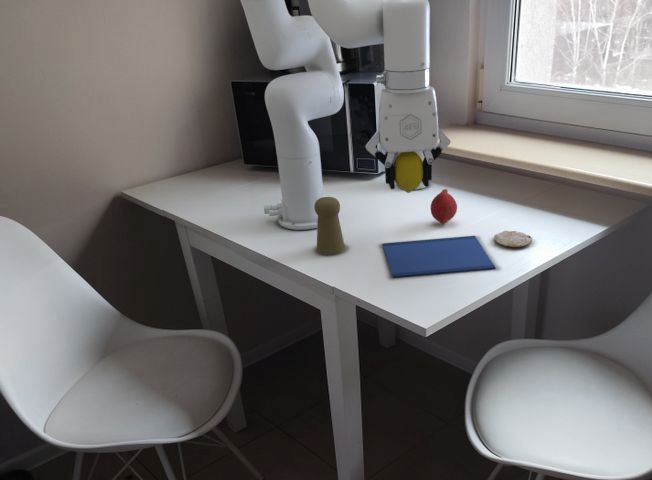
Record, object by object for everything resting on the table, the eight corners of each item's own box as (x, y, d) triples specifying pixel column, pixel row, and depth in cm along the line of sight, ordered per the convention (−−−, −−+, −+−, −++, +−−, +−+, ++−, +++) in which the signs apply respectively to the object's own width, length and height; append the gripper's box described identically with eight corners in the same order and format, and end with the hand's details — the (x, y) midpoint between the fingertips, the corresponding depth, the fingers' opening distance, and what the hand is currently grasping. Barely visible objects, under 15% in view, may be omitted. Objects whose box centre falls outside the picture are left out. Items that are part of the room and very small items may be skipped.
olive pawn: (322, 257, 127) (317, 205, 121) (312, 247, 132) (307, 196, 126) (349, 251, 129) (345, 200, 123) (339, 241, 134) (335, 191, 128)
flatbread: (538, 244, 128) (539, 240, 127) (506, 251, 126) (507, 246, 125) (517, 231, 134) (518, 226, 134) (486, 237, 132) (487, 232, 131)
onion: (439, 230, 137) (440, 195, 132) (425, 222, 141) (425, 188, 137) (461, 225, 139) (462, 190, 135) (447, 217, 143) (447, 183, 139)
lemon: (421, 198, 112) (421, 153, 108) (391, 197, 113) (390, 153, 109) (425, 188, 116) (425, 144, 112) (396, 187, 118) (395, 144, 113)
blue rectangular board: (392, 278, 118) (392, 276, 118) (382, 244, 131) (382, 243, 131) (495, 268, 119) (495, 267, 119) (474, 237, 133) (474, 235, 133)
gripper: (358, 87, 101) (364, 196, 110) (462, 80, 102) (459, 188, 111) (354, 80, 107) (360, 183, 117) (452, 73, 108) (449, 176, 118)
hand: (408, 184), depth 114 cm, fingers closed on lemon, 5 cm apart
